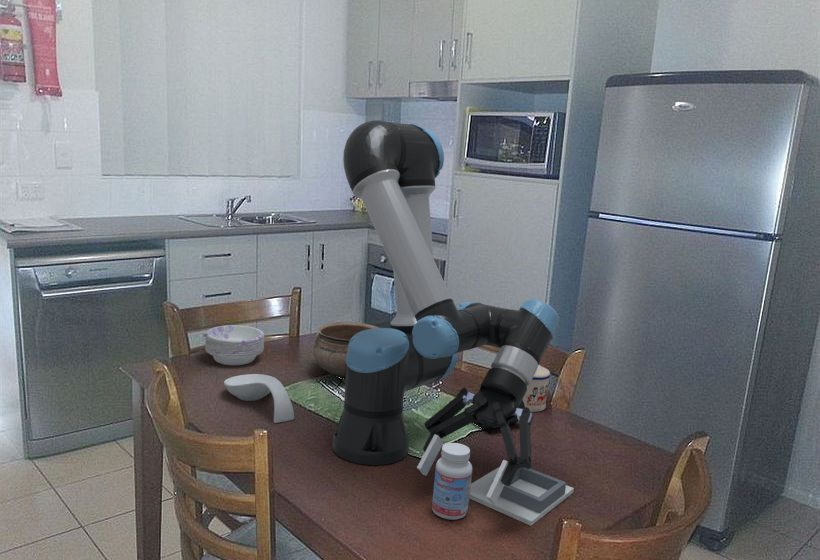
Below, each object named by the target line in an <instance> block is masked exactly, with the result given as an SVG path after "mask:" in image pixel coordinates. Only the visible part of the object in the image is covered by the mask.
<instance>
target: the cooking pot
mask: <svg viewBox="0 0 820 560" xmlns="http://www.w3.org/2000/svg"><path fill="white" fill-rule="evenodd" d="M373 328H375V329H379V328H380V327H379V326H376V325H373V324H367V323H364V322H363V323H362V322H355V321H354V322H353V321H352V322H351V321H336V322H335V321H334V322H328V323H324V324H321V325H319V326H318V327H316V330H317V333H316V334H315V341H314V345H313V351H312V353H313V356H314V360H315V361H316V363H317V365H318V366H319V367H320V368H321V369H323V370H324V371H326V372H328V373H329V374H331V375H333V376H335V377H336V376H337V377H340V378H344V379H345V377H346V355H347V352H348V344H349V341H350V339H351V338H352V337H353V336H354V335H355V334H357V333H359V332H361V331H364V330H367V329H373ZM337 377H336V378H337ZM340 378H339V379H340Z"/></svg>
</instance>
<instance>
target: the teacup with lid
mask: <svg viewBox="0 0 820 560" xmlns="http://www.w3.org/2000/svg"><path fill="white" fill-rule="evenodd" d="M551 383H552V376H551V372H550V370H549V369H548V368H546V367H545V366H542V365H541V364H539V365H538V368H537V370H536V372H535V374H534V376H533V378H532V380H531V383H530V384H529V386H527V391H526V393H525V395H524V397H523V399H522V400H523V402H524V404H525V407H528V408H529V409H530V411H531V413H532V412H533V413H535V412H536V413H537V412H541V411H543V410H545V409H546V408H547V407H546V406H547V399H548V391H549V389H550V387H551Z"/></svg>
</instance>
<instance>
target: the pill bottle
mask: <svg viewBox="0 0 820 560" xmlns="http://www.w3.org/2000/svg"><path fill="white" fill-rule="evenodd" d="M440 455H441V457H440V458H439V459H438V460H437V461H436V464H435V469H434V470H435V472H434V483H433V492H432V501H431V502H432V504H431V509H432V512H433V513H434V515H436V516H438V517H439V518H442V519H444V520H450V521H454V520H461V519H463V518H464V517H466V515H467V513H468V511H469V503H470V499H469V495H470V487H471V484H472V477H473V465H472V463H471V462H470V461H469V460H470V458H471V449H470V447H469V446H467V445H465V444H463V443H457V442H449V443H445V444H443V445H442V447H441V452H440Z"/></svg>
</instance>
